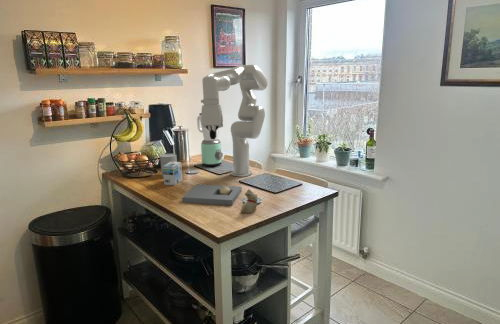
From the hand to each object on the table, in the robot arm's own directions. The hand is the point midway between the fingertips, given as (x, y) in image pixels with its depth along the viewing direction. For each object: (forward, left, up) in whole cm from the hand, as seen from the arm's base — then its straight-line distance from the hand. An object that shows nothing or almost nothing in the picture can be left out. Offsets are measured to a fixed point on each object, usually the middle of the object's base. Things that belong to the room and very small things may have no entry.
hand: (213, 138), depth 176 cm
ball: (+11, +9, -24) cm, 28 cm away
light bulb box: (-6, -26, -27) cm, 38 cm away
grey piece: (-19, -34, -27) cm, 47 cm away
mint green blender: (-47, -17, -27) cm, 57 cm away
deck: (+13, +3, -27) cm, 29 cm away
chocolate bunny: (+28, +24, -27) cm, 45 cm away
